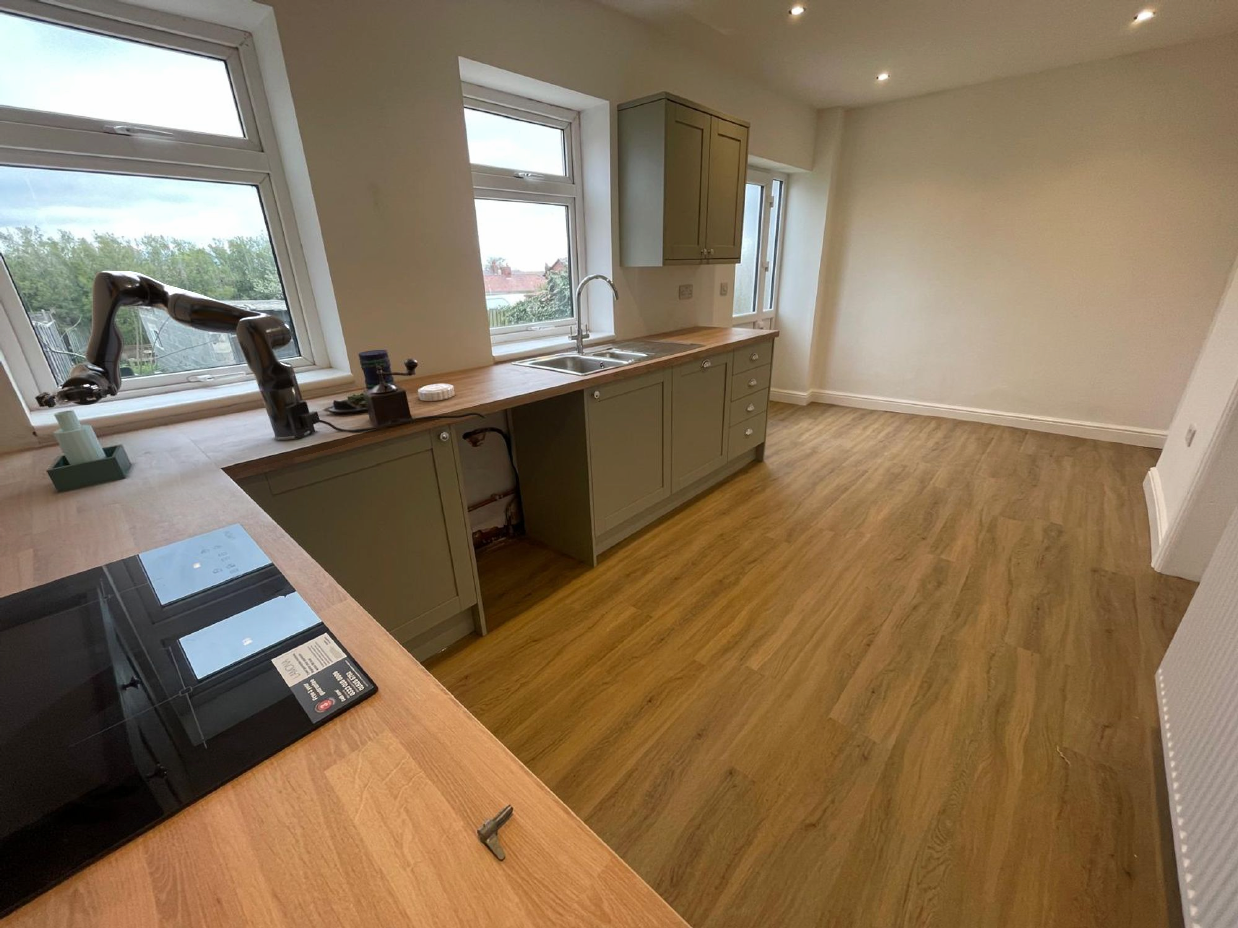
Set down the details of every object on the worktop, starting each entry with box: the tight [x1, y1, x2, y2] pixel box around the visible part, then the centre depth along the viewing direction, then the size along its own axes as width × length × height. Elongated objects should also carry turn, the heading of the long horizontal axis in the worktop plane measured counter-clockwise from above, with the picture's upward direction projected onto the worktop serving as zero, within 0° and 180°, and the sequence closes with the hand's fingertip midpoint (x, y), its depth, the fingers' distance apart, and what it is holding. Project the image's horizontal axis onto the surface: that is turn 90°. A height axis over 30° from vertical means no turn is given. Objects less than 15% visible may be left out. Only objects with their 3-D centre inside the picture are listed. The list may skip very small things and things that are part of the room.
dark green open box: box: [45, 443, 132, 493], centre depth 121 cm, size 12×12×6 cm
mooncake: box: [417, 382, 455, 402], centre depth 176 cm, size 12×12×4 cm
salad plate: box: [322, 392, 368, 417], centre depth 168 cm, size 19×18×5 cm
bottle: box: [52, 409, 107, 465], centre depth 118 cm, size 6×6×16 cm
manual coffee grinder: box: [362, 358, 419, 427], centre depth 152 cm, size 16×11×18 cm
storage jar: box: [357, 349, 396, 390], centre depth 183 cm, size 10×10×15 cm
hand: (72, 399), depth 123 cm, fingers open, 8 cm apart
